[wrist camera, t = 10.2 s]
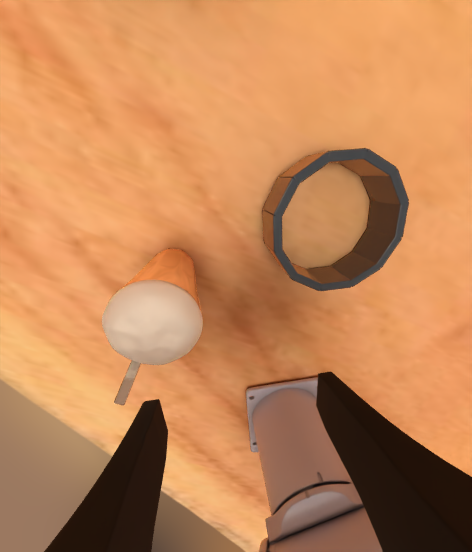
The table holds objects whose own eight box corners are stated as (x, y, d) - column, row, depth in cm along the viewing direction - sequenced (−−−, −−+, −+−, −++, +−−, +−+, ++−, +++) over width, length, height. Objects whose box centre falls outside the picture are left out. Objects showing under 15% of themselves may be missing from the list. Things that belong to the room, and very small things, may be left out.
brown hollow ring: (368, 267, 21) (394, 282, 18) (264, 280, 20) (274, 297, 17) (384, 149, 18) (420, 143, 15) (260, 159, 17) (272, 155, 14)
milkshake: (130, 288, 19) (62, 389, 10) (157, 228, 18) (107, 282, 9) (183, 310, 20) (167, 417, 11) (213, 255, 19) (221, 328, 10)
